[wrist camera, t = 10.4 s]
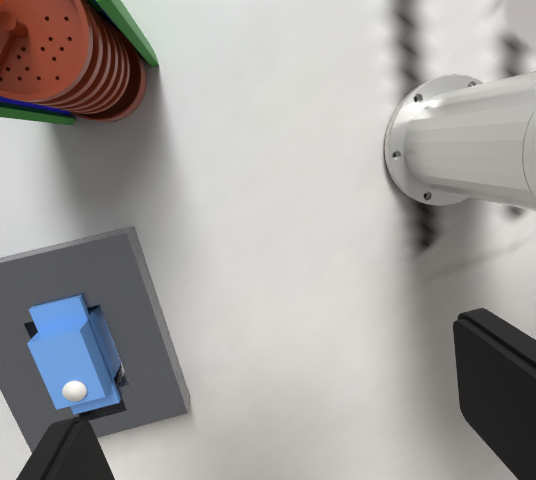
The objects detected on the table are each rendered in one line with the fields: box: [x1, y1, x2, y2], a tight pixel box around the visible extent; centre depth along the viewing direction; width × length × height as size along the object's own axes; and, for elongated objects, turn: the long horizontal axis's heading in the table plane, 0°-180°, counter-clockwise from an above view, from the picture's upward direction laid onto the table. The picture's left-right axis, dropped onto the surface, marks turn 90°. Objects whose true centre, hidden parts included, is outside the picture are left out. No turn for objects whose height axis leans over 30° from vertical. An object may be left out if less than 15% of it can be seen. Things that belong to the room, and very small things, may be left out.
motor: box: [0, 0, 159, 125], centre depth 22 cm, size 10×9×20 cm
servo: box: [27, 295, 121, 414], centre depth 35 cm, size 4×12×6 cm, turn 12°
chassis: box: [0, 226, 190, 453], centre depth 36 cm, size 16×20×3 cm
